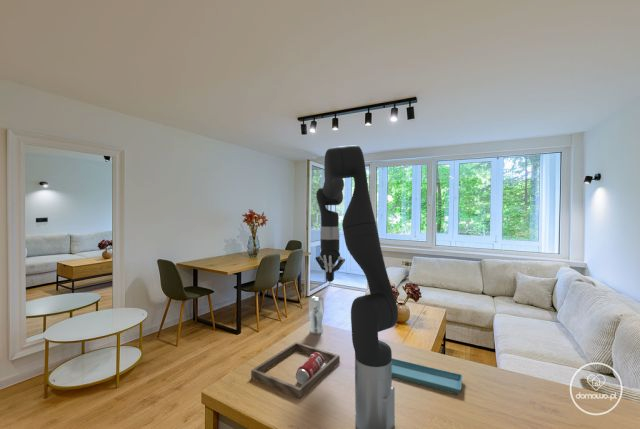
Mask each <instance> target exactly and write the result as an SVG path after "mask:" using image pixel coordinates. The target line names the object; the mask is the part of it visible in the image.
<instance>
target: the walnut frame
mask: <svg viewBox="0 0 640 429" xmlns="http://www.w3.org/2000/svg"><path fill="white" fill-rule="evenodd" d="M296 351H299V352H301V353H305V354H308V355H311V354H312V353H315V352H317V353H320V354H321V355H322V356H323V359H324V360H326V361H328V362H327V363H326V364H325V365H323V366H322V367H321V368H320V369H319V371H318V372H317V373H315V374H314V375H313V376H312V377H311V378H310V379H308V380H307V381H306V382H305V383H304V384H300V386H299V387H298V386H297V385H295V384H292V383H289V382H286V381H284V380H282V379H279V378H277V377H274V376H272V375H269V374H268V373H265V372H266V371H267V370H269V369H270V368H272V367H273V366H275V365H276V364H278V363H280V361H282V360H284V359H286V357H287V358H288V356H289V355H292V353H294V352H296ZM340 358H341V355H340V354H336V353H333V352H329V351H326V350H324V349H320V348H316V347H314V346H310V345H307V344H303V343H299V342H298V341H297V342H295V341H294V342H293V343H292V344H291V345H289V346H287V347H285V348H284V349H283V350H281V351H280V352H278V353H276V354H274V355H273V356H272V357H270V358H268V359H267V360H265V361H264V362H262V363H260V364H259V365H257V366H255V367H254V368H252V369H251V371H250V372H251V374H250V376H251V379H254V380H256V381H258V382H260V383H263V384H264V385H267V386H270V387H272V388H274V389H276V390H278V391H281V392H283V393H285V394H288V395H290V396H292V397H294V398H296V399H299V400H301V398H303V397H304V396H305V395H306V394H307V393H308V392H309V391H310V390H311V389H312V388H313V387H315V386H316V384H318V383H319V382H320V381H321V380H323V378H324V377H325V376H327V375H328V374H329V373H330V372H331V371H332V370H333V369H334V368H335V367H336V366H338V365H339V363H340V362H341V361H340V360H341V359H340ZM274 364H275V365H274ZM271 366H272V367H271ZM268 368H269V369H268ZM265 370H266V371H265Z"/></svg>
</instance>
